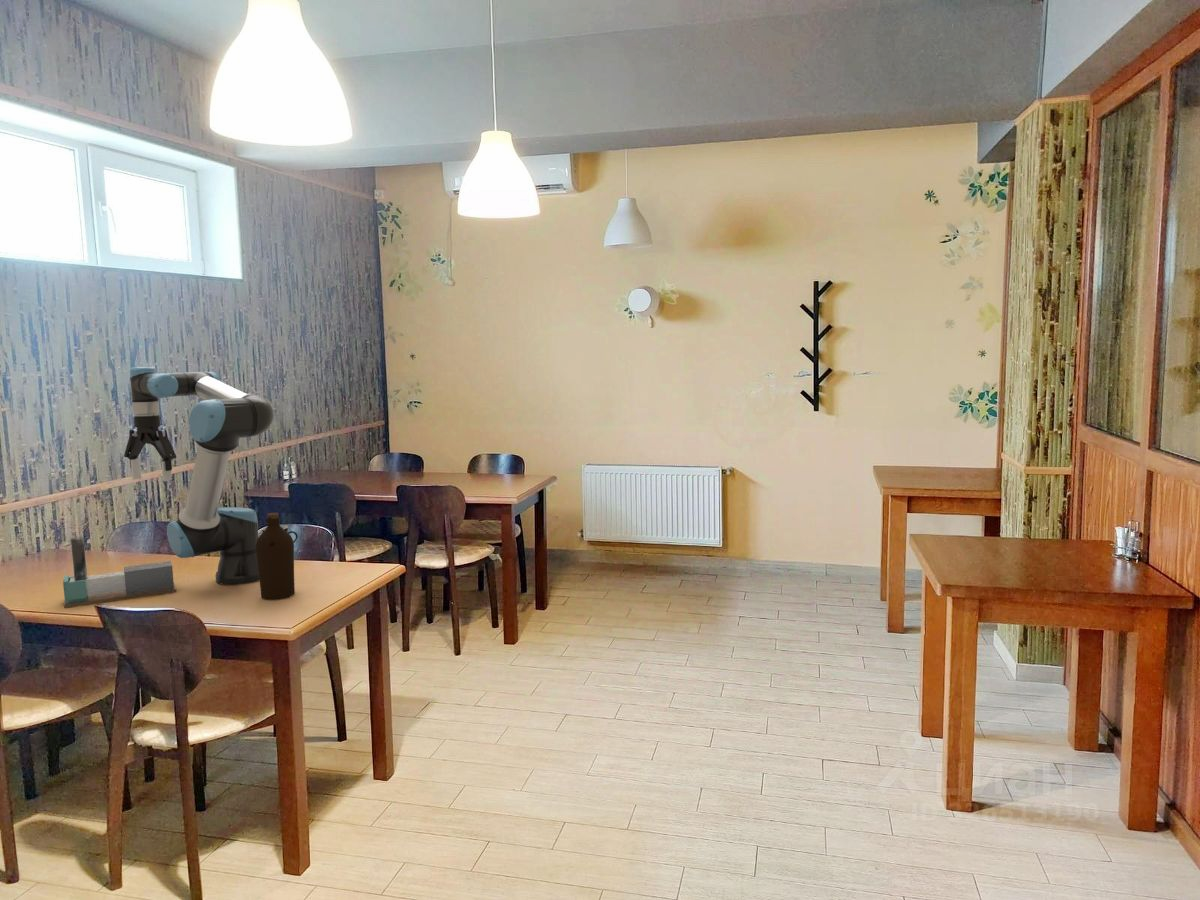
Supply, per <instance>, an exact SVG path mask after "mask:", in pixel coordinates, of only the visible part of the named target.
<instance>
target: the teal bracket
mask: <svg viewBox="0 0 1200 900" xmlns="http://www.w3.org/2000/svg"><path fill="white" fill-rule="evenodd" d="M70 578H74V575H73V576H70V575H69V574H68V575H63V581H62V583H63V584H62V585H63V593H64V595H63V596H64V600H65V604H66V603H73V602H80V601H87V598H88V596H87V590H86V580H80V581H72V582H70Z"/></svg>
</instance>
